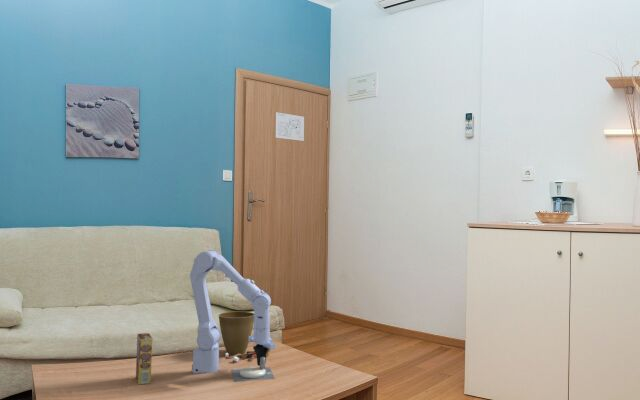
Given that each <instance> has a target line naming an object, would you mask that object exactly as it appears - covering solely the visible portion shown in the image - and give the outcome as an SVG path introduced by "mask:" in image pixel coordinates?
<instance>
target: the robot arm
mask: <svg viewBox="0 0 640 400" xmlns="http://www.w3.org/2000/svg"><path fill="white" fill-rule="evenodd" d="M211 270H213V271H217V272H218V271H220V272H221V273H223V274H224V275H225V276H227V278H228V279H229V280H231V281H232V282H233V284H235V285H236V286H237V291H238V292H239V293H240V294H241V295H242V297H244V298H245V299H246V300H247V301H248V302H249V303H250V304H251V306H252V309H253V310H254V311H253V313H254V323H253V335H251V336H249V343H253V344H255V345H254V346H252V348H253V351H255V353H256V355H257V358H256V363H257V367H260V357H265V364H266V362H267V358H266V354H267V351H268V350H270V351H273V350H276V343H275V342H273V338H271V337H270V336H271V335H270V334H271V327H270V326H271V323H270V322H271V319H270V318H271V317H270V316H271V315H270V306H271V304H272V299H271V296H270V295H269V293H268V292H265V291H264V290H263V289H260V287H258V286H257V285H256V284H255V281H254V280H253V279H250V278H244V277H243V276H242V275H241V274H240V273H239V271H238V270H237V269H235V267H234V266H233V265H232V264H231V263H230V262H229V261H228V260H227V259H226V258H225V257H224V256H223V255H222V254H220V253H219V251H217V250H215V249H208V250H207V251H205V250H204V251H200V253H198V254H197V255H196V257H194V258H193V264H192V268H191V270H190V273H189V280H190V283H191V290H192V293H193V299H194V304H195V309H196V310H195V311H196V314H197V321H198V327H197V329H196V330H197V337H196V344H197V345H198V348H193V351H192V365H191V370H192V374H211V373H216V372H218V371H219V365H220V363H219V362H220V345H219V341H220V339H221V338H222V334H221V329H219V328H218V326H217V322H216V321H215V320H214V316H213V312H212V305H211V299H210V295H209V291H208V285H207V281H206V276H207V275H208V274H209V273H210V272H211Z"/></svg>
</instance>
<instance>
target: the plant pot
mask: <svg viewBox="0 0 640 400" xmlns="http://www.w3.org/2000/svg"><path fill="white" fill-rule="evenodd" d="M218 321H219V328H220V329H219V330H220V332H221V338H222V342H223V345H224V348H225V351H226V353H228V354H229V356H237V355H242V354H246V353H247V348H248V346H249V343H250V342H249V336H252V333H253V332H252V331H253V329H254V312H250V311H239V310H238V311H225V312H221V313H218Z"/></svg>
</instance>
